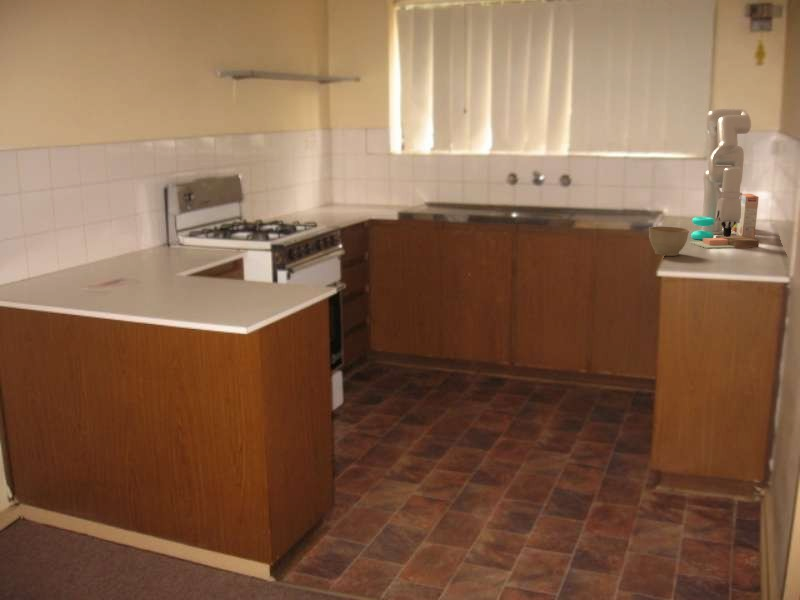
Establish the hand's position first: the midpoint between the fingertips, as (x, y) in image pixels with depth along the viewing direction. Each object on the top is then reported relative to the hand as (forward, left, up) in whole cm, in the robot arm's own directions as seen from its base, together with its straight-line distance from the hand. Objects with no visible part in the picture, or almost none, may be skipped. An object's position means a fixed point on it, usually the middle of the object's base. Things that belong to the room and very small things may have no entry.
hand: (726, 236), depth 377 cm
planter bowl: (+19, -37, -4) cm, 42 cm away
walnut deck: (0, +5, -4) cm, 6 cm away
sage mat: (0, -7, -4) cm, 8 cm away
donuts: (-19, -1, -4) cm, 20 cm away
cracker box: (-14, +18, -4) cm, 23 cm away
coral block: (0, -5, -2) cm, 6 cm away
